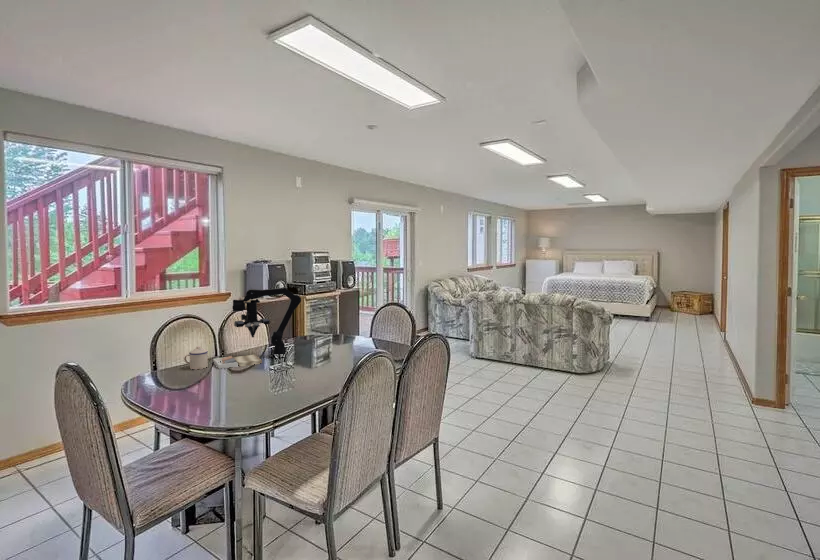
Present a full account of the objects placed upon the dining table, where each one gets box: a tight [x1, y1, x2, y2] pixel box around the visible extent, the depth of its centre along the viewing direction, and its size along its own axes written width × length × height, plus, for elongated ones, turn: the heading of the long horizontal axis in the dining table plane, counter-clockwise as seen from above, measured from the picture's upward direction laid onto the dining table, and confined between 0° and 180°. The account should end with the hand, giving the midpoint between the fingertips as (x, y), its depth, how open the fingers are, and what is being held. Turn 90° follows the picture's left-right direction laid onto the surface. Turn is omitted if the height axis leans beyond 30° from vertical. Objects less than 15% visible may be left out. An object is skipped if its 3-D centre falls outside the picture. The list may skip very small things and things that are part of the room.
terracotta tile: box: [221, 355, 234, 364], centre depth 243 cm, size 5×5×2 cm
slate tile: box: [224, 358, 236, 364], centre depth 238 cm, size 5×5×2 cm
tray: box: [212, 356, 239, 370], centre depth 240 cm, size 10×16×2 cm, turn 34°
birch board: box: [232, 354, 263, 367], centre depth 246 cm, size 12×16×2 cm
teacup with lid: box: [183, 345, 209, 371], centre depth 233 cm, size 12×9×12 cm
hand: (252, 337), depth 253 cm, fingers closed
